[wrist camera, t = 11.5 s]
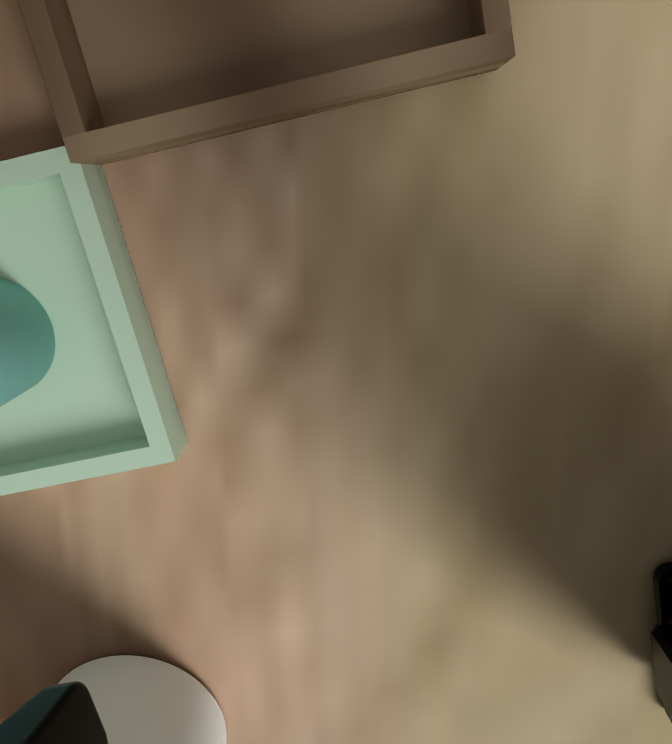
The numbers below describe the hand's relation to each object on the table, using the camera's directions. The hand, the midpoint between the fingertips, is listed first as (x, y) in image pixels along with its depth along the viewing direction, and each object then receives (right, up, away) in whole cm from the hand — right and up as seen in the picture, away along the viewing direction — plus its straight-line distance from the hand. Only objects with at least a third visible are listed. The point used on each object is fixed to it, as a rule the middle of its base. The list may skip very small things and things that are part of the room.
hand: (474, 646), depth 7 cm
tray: (-12, +4, +12) cm, 17 cm away
